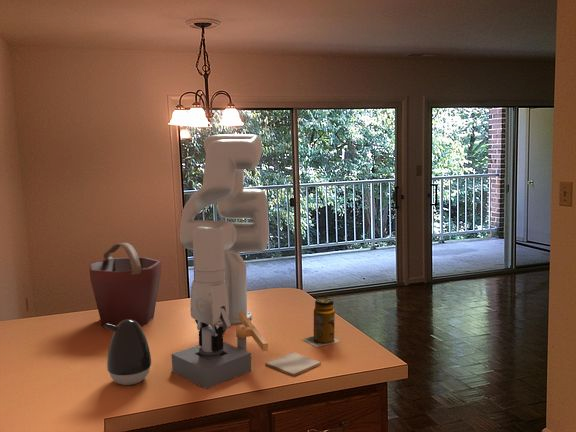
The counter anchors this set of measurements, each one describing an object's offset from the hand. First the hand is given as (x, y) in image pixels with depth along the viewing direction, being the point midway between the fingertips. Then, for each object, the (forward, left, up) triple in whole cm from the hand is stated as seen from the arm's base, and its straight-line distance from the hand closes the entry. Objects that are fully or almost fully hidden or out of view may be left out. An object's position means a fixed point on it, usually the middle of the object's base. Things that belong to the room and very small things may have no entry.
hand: (211, 346), depth 132 cm
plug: (0, 0, -6) cm, 6 cm away
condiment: (+6, +35, -7) cm, 36 cm away
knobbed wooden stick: (0, +11, 0) cm, 11 cm away
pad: (+12, +17, -6) cm, 22 cm away
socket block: (0, +3, -6) cm, 7 cm away
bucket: (-52, +6, -7) cm, 53 cm away
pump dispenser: (-10, -17, -7) cm, 21 cm away
